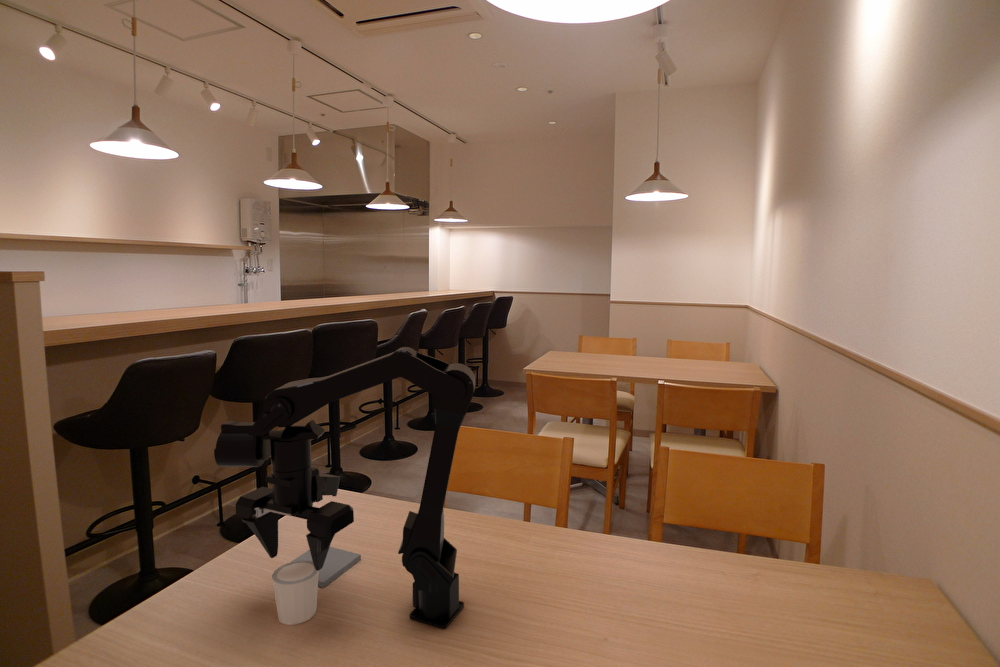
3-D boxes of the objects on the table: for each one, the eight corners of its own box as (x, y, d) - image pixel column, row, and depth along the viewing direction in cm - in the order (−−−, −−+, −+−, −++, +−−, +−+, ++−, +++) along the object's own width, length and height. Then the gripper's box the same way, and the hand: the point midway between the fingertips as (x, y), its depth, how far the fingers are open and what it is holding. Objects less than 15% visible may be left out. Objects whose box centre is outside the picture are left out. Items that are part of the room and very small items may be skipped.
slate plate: (360, 559, 100) (360, 554, 100) (323, 588, 91) (323, 582, 91) (318, 548, 104) (318, 543, 104) (279, 574, 95) (278, 569, 95)
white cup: (327, 601, 87) (326, 560, 87) (308, 629, 81) (306, 585, 80) (287, 598, 88) (285, 558, 87) (264, 625, 81) (262, 582, 80)
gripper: (374, 457, 85) (377, 550, 87) (285, 443, 93) (289, 529, 94) (326, 482, 75) (330, 587, 77) (230, 463, 83) (236, 560, 84)
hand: (296, 562), depth 83 cm, fingers open, 9 cm apart
